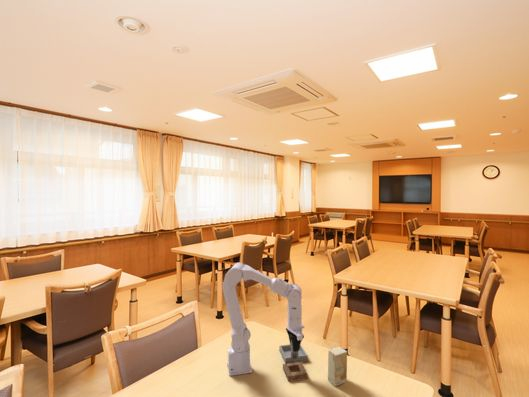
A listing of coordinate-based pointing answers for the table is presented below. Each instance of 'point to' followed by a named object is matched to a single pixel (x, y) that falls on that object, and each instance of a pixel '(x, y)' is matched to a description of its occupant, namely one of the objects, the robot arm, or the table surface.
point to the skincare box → (337, 366)
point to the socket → (296, 375)
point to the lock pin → (293, 353)
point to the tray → (286, 354)
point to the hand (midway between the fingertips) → (294, 348)
